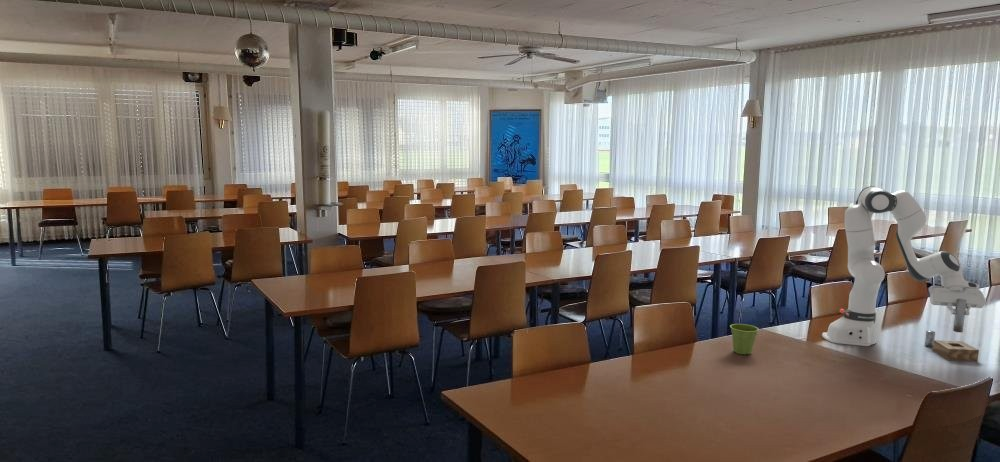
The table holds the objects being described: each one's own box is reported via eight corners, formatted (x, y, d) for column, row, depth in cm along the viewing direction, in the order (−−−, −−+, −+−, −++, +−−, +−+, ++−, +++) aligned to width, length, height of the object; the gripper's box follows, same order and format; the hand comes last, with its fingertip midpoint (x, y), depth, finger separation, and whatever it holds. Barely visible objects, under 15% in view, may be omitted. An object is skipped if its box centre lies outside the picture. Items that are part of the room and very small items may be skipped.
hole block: (947, 359, 281) (948, 348, 280) (932, 350, 293) (933, 340, 292) (977, 361, 280) (979, 350, 279) (961, 352, 291) (962, 341, 291)
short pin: (926, 347, 298) (928, 332, 297) (923, 344, 301) (924, 330, 300) (935, 347, 298) (936, 332, 297) (931, 345, 301) (932, 330, 300)
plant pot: (759, 357, 280) (761, 332, 278) (730, 355, 282) (731, 330, 280) (754, 349, 291) (756, 324, 290) (726, 347, 294) (728, 322, 292)
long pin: (955, 332, 283) (959, 300, 281) (951, 329, 286) (954, 298, 284) (964, 332, 283) (968, 301, 281) (959, 330, 286) (963, 299, 284)
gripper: (929, 281, 291) (935, 308, 283) (983, 284, 286) (990, 312, 278) (925, 289, 296) (930, 315, 288) (977, 292, 291) (984, 319, 283)
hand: (960, 314), depth 283 cm, fingers closed on long pin, 3 cm apart
